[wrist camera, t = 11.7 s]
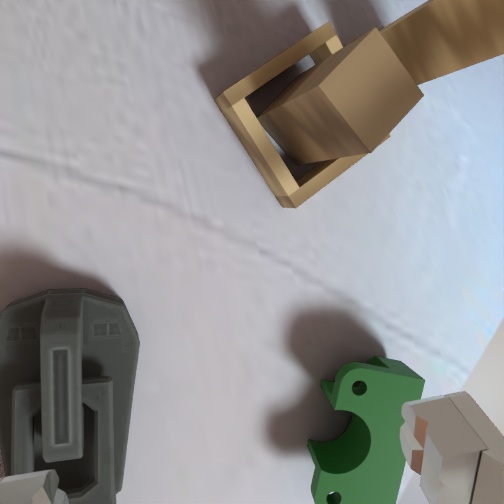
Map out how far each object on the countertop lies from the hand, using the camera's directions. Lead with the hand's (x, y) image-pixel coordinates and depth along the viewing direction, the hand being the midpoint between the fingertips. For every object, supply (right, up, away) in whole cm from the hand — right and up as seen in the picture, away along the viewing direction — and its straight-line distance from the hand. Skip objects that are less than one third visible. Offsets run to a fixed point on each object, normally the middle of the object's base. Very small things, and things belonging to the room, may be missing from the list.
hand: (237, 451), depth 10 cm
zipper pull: (-12, -10, +21) cm, 26 cm away
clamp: (+8, -9, +27) cm, 29 cm away
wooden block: (+4, +14, +22) cm, 27 cm away
